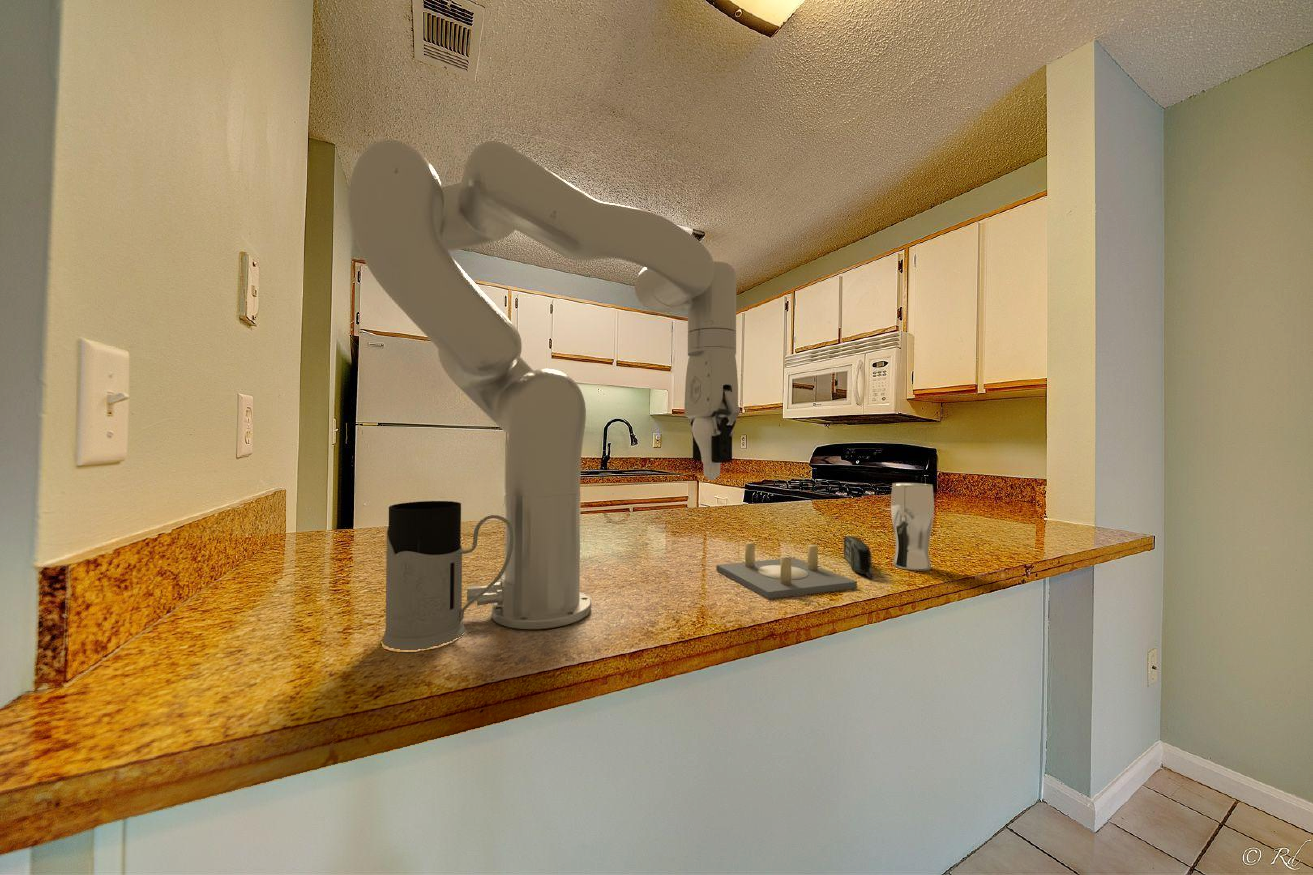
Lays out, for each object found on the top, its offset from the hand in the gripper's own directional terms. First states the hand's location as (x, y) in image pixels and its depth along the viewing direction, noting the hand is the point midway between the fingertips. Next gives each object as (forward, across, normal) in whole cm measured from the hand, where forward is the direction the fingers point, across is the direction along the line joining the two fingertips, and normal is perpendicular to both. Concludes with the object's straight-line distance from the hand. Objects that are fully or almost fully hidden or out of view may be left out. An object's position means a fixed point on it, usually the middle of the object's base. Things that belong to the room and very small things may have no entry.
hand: (711, 460), depth 75 cm
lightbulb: (+3, 0, 0) cm, 3 cm away
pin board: (+20, 0, +13) cm, 24 cm away
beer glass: (+20, +1, +40) cm, 45 cm away
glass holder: (+20, +7, -37) cm, 43 cm away
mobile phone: (+20, -1, +30) cm, 36 cm away
